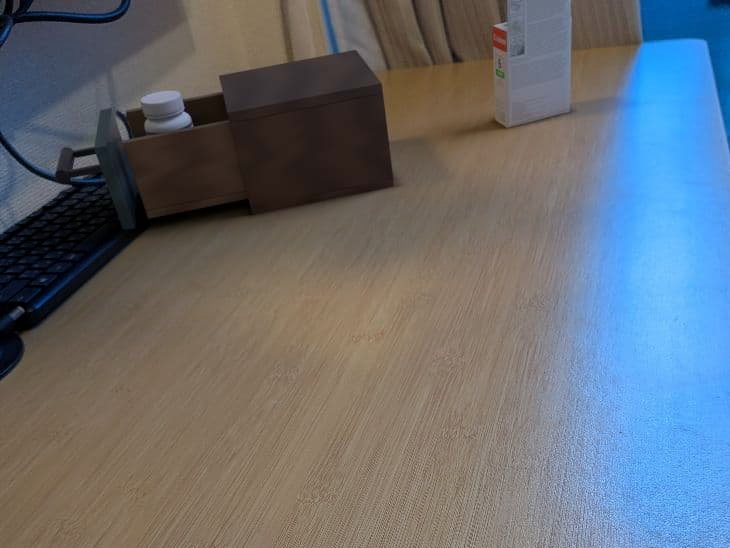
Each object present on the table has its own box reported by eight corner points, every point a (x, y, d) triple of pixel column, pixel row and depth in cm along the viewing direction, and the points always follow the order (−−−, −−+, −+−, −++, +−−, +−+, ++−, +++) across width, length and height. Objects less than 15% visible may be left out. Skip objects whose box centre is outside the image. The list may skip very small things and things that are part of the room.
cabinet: (252, 216, 83) (227, 112, 76) (242, 171, 93) (218, 75, 86) (394, 188, 84) (382, 83, 77) (369, 145, 94) (356, 49, 87)
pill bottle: (154, 187, 86) (126, 101, 80) (189, 171, 88) (164, 86, 83) (181, 195, 84) (154, 106, 78) (216, 179, 86) (193, 91, 80)
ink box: (493, 122, 95) (488, -29, 85) (555, 106, 97) (557, -44, 87) (507, 130, 93) (504, -24, 82) (570, 114, 94) (574, -39, 84)
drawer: (74, 240, 81) (40, 158, 76) (81, 195, 90) (52, 118, 85) (257, 203, 83) (237, 120, 77) (247, 162, 92) (229, 85, 86)
